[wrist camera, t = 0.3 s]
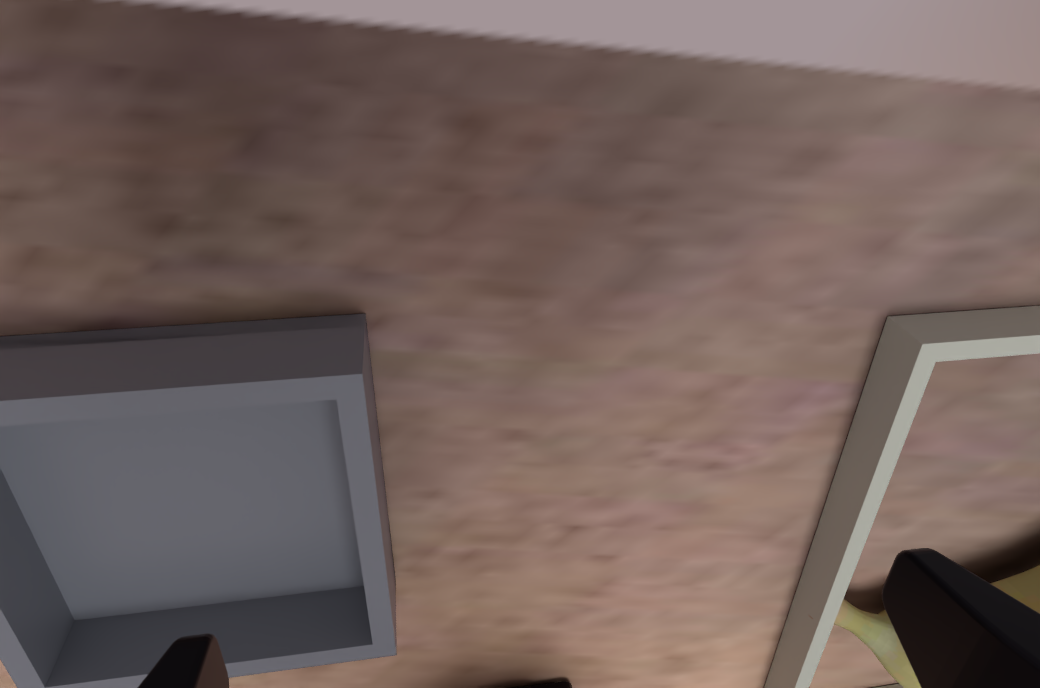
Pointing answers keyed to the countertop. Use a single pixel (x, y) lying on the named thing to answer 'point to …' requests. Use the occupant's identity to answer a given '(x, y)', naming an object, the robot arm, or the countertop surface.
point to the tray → (191, 500)
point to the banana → (879, 635)
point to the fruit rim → (882, 461)
